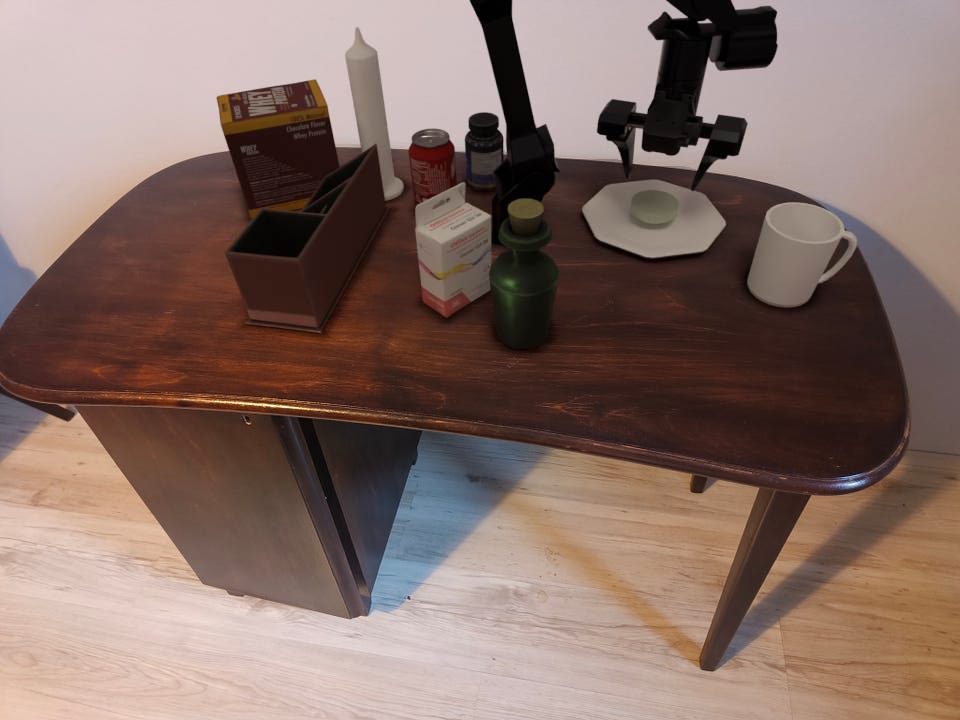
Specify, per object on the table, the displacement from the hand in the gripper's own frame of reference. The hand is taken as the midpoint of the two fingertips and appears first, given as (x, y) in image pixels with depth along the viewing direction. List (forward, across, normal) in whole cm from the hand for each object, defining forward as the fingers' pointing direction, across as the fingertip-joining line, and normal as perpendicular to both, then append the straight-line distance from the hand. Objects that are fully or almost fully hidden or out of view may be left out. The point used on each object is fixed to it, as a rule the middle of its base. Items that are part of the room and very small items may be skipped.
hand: (659, 183), depth 91 cm
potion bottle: (+7, -10, -30) cm, 32 cm away
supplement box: (+7, -56, -12) cm, 58 cm away
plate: (+7, 0, 0) cm, 7 cm away
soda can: (+7, -32, -8) cm, 34 cm away
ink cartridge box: (+7, -20, -26) cm, 34 cm away
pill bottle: (+7, -28, +2) cm, 29 cm away
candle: (+7, -43, -6) cm, 44 cm away
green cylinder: (+5, 0, 0) cm, 5 cm away
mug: (+7, +20, -9) cm, 23 cm away
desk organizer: (+7, -41, -26) cm, 49 cm away
